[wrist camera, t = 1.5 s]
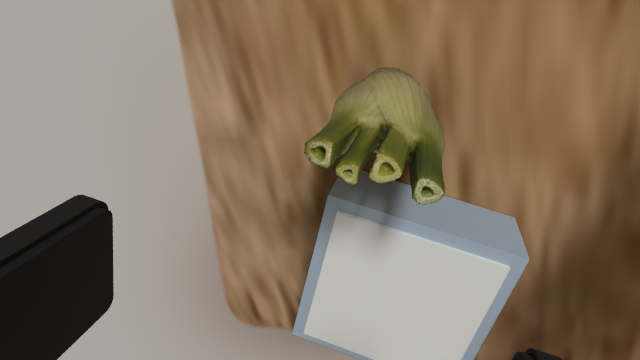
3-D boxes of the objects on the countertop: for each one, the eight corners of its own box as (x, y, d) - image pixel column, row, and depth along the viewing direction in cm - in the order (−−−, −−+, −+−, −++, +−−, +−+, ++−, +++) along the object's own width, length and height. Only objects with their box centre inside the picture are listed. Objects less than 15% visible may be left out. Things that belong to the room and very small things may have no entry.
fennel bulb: (452, 111, 26) (464, 191, 15) (395, 160, 28) (370, 259, 18) (388, 45, 25) (354, 80, 15) (335, 100, 28) (272, 165, 17)
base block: (514, 217, 28) (530, 262, 23) (451, 341, 33) (453, 398, 28) (344, 164, 29) (327, 197, 25) (310, 291, 35) (290, 337, 30)
